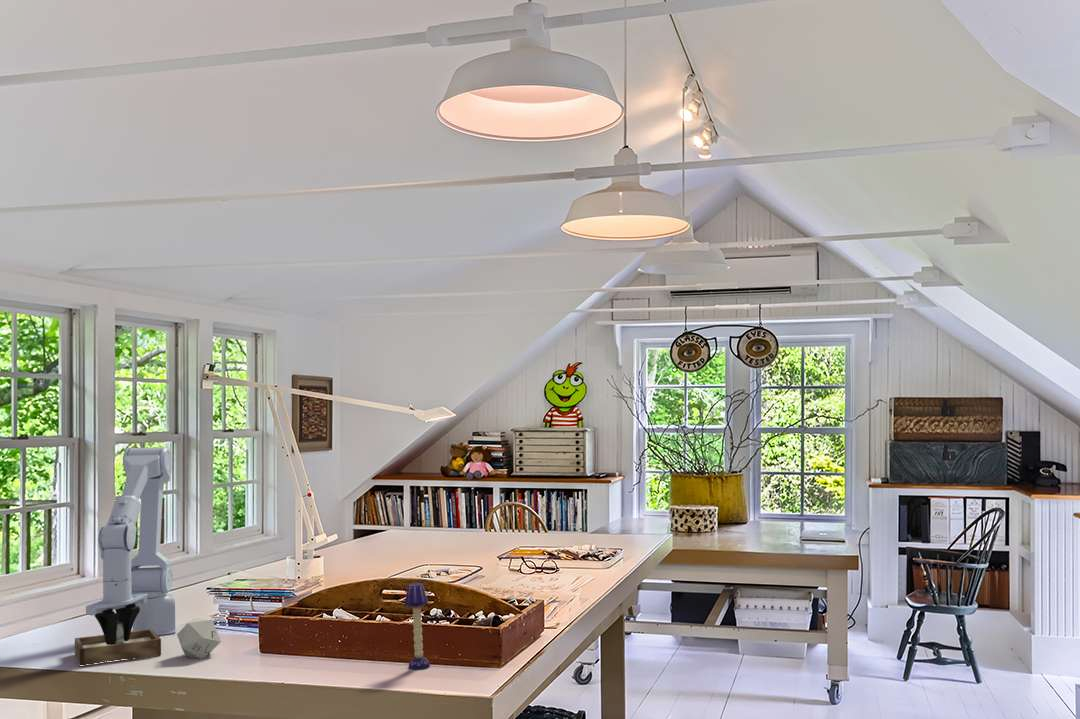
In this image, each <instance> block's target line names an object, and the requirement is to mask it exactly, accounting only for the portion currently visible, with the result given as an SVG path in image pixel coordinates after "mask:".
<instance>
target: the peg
mask: <svg viewBox="0 0 1080 719" xmlns="http://www.w3.org/2000/svg"><path fill="white" fill-rule="evenodd" d="M121 643H125V640H124V622H123V621H118V623H117V629H116V643H115V644H121Z"/></svg>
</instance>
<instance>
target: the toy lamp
mask: <svg viewBox="0 0 1080 719" xmlns="http://www.w3.org/2000/svg"><path fill="white" fill-rule="evenodd" d="M428 602H429V601H428V597H427V594H426V590H425V587H424V584H423V583H421V582H416V583H415V582H413V583H410V584H408V586H407V589H406V594H405V600H404V605H405V606H406V607H411V609H412V618H413V621H412V625H413V642H414V644H413V648H414V657H413V658H412V659H411V660H410V662H409V663H408V668H409V669H410V670H424V669H428V668H430V666H431V664H430V661H429V660H428V659H427V657H424V651H423V649H424V644H423V640H424V639H423V635H422V634H423V628H422V625H423V623H422V616H423V615H422V612H421V611H422V606H426V605H427V604H428Z"/></svg>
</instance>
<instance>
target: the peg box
mask: <svg viewBox="0 0 1080 719" xmlns="http://www.w3.org/2000/svg"><path fill="white" fill-rule="evenodd" d="M75 655H76V656H75ZM160 655H161V656H162V638H160V635H157V634H156V633H155V632H154V630H153V629H147V630H139V631H131V633H130V637H129V641H125V643H121V644H113V645H108V644H106V641H105V637H104V634H99V635H90V636H82V637H75V638H74V656H75V658H76V657H77V658H76V661H77V660H78V661H77V663H78V662H79V663H78V665H79V664H80V665H86V664H94V663H100V662H105V661H106V662H107V661H114V660H121V659H132V660H134V659H133V658H140V659H146V658H145V657H147V658H153V656H154V657H159V656H160ZM161 656H160V657H161ZM80 665H79V666H80Z"/></svg>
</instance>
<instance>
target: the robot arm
mask: <svg viewBox="0 0 1080 719" xmlns="http://www.w3.org/2000/svg"><path fill="white" fill-rule="evenodd" d="M172 458H173V457H172V454H171V451H170V449H169V448H168V447H167V446H162V447H161V446H160V447H130V446H129V447H127V448H126V450H124V452H123V456H122V467H123V470H124V473H125V477H126V478H125V480H124V481H125V482H124V487H123V491H122V495H121V496H120V497H118V498H117V499H116V500H114V503H113V506H112V508H111V512H110V515H109V518H108V520H107V523H106V524H105V525H104V526H102V527H101V528H100V529H99V533H98V538H97V544H98V548H99V553H100V556H99V557H100V559H101V560H102V599H101V600H100V601H97V602H95V603H91V604H89V605H86V606H85V616H94V617H95V619H96V620H97V622H98V624H99V626H100V628H101V630H102V635H104V637H105V641H106V644H108V645H113V644H115V643H116V629H117V623H118V621H123V622H124V640H125V641H129V637H130V633H131V631H139V630H147V629H153V630H154V632H155V633H156V634H157V635H158V636H163V635H170V634H177V631H176V600H175V596H174V593H169V592H170V591H171V589H172V586H173V582H174V581H173V579H174V578H173V572H172V571H173V570H172V568H173V567H172V566H173V565H172V562H171V561H170V559H168V558H167V557H166V556H165V555H163V554H162V553H161V552H160V551H161V534H162V513H163V498H164V497H163V494H164V486H165V484H166V483H169V482H170V481H171V477H172V466H173V465H172V463H173V459H172ZM140 497H141V498H140ZM139 500H140V501H139ZM139 516H140V518H139ZM138 518H139V533H138V534H139V536H138V552H137V555H135V556H134V557H133V558H132V550H133V549H134V547H135V544H136V537H137V529H138V528H137V526H136V525H137V521H138ZM144 566H145V567H144ZM146 566H158V567H146Z"/></svg>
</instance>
